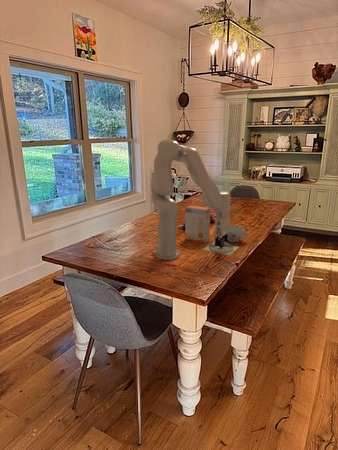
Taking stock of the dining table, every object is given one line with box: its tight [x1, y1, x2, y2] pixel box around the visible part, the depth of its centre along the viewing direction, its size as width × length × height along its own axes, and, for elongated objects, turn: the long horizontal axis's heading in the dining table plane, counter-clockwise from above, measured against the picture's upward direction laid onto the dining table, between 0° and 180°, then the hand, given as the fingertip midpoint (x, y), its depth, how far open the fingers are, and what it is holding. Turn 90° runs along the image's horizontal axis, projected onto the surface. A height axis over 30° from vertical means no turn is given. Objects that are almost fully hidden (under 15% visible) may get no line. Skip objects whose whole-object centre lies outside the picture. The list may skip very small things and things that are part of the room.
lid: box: [208, 236, 235, 254], centre depth 179 cm, size 14×14×6 cm
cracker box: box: [184, 204, 211, 244], centre depth 190 cm, size 14×6×21 cm, turn 54°
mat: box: [202, 244, 240, 256], centre depth 180 cm, size 16×15×1 cm
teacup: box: [227, 225, 249, 243], centre depth 190 cm, size 15×12×8 cm
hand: (221, 243), depth 179 cm, fingers open, 9 cm apart
